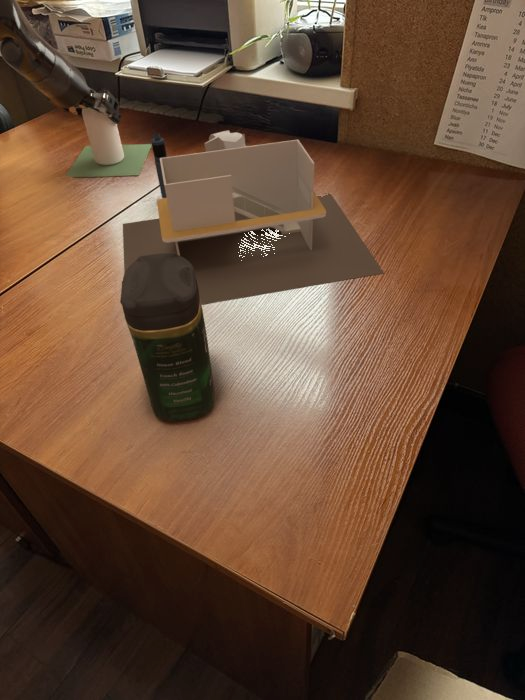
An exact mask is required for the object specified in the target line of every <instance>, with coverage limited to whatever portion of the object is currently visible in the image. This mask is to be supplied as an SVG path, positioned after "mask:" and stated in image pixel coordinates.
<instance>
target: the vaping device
mask: <svg viewBox="0 0 525 700" xmlns="http://www.w3.org/2000/svg"><path fill="white" fill-rule="evenodd" d="M150 142H151V143H150V144H152V147H151V149H152V153H153V158H154V164H155V169H156V174H157V180H158V185H159V189H160V195H161V198H167V197H166V192H165V187H164V181H163V175H162V169H161V163H160V158H164V157H172V156H173V155H171V156H170V155H169V156H168V154H167V150H166V143H165V139H164V137H161V135H160V133H154V134H153V138H152V139H151V140H150Z"/></svg>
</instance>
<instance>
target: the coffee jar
mask: <svg viewBox="0 0 525 700" xmlns="http://www.w3.org/2000/svg"><path fill="white" fill-rule="evenodd" d="M120 290H121V291H120V299H119V300H120V302H119V303H120V304H121V307H122V311H123V315H124V320H125V322H126V326H127V328H128V331H129V333H130V337H131V339H132V343H133V346H134V349H135V353H136V356H137V360H138V363H139V366H140V370H141V373H142V376H143V380H144V384H145V387H146V391H147V395H148V398H149V402H150V406H151V409H152V412H153V414H154V416H155V417H157V418H158V419H160V420H161V421H164V422H169V423H177V422H178V423H179V422H180V423H181V422H188V421H193V420H195V419H199V418H201V417H203V416H205V415H207V414H208V413H209V412H210V411H211V409H212V408H213V406H214V401H215V384H214V376H213V369H212V363H211V357H210V348H209V341H208V335H207V329H206V323H205V317H204V316H205V315H204V311H203V306H202V305H203V304H201V300H200V294H199V289H198V284H197V280H196V276H195V271H194V268H193V266H192V264H191V263H190V262H189V261H188V260H186V259H185V258H183V257H181V256H179V255H177V254H176V253H161V254H152V255H145V256H140V257H138V259H137V260H136V261H134V262H133V263H132V264H131V265H130V266H129V267H128V269H127V270H126V272H124V274H123V278H122V281H121V289H120Z"/></svg>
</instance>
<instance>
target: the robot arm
mask: <svg viewBox="0 0 525 700" xmlns="http://www.w3.org/2000/svg"><path fill="white" fill-rule="evenodd" d="M0 55H1V57H2V59H3V60H4V61H5V62H6V64H8V65H9V66H10V67H11V68H12V69H13V70H15V71H16V72H17V73H18V74H20V76H22V77H24V78H25V79H26V80H27V81H28V82H29V83H30V84H31V85H32V86H33V87H34V88H35V89H37V90H38V91H39V92H41V93H42V94H43V96H45V101H47V102H49V103H50V104H52V105H53V106H55V107H56V108H57V109H59V110H60V111H62V112H63V113H65V114H68V113H70V112H71V114H72V115H74V116H79V117H80V118H81V119H82V120H83V116H82V109H88V110H90V111H92V112H94V113H96V114H100V113H101V114H103V115H105V116H107V117H108V118H109V119H110V120H111V121H113V122H114V123H115V124H117V125H120V123H121V121H122V120H121V119H122V114H121V113H120V112H119V110H120V102H119V101H118V100H117V99H116V97H115V96H114V95H113V94H112V93H111V92H110V91H109V90H108V89H105V88H103V89H102V91H101V92H96V90H95V89H93V88H91V87H89V86H88V84H87V80H86V78H85V76H84V75H83V73H82V72H81V71H80V70H79V69H78V68H77V67H76V66H74V64H73V63H71V61H70V60H68V59H67V58H66V57H65V56H64V55H63V54H62V53H61V52H60V51H59V50H58V49H56V48H54V47H53V46H51V45H50V44H49V43H48V42H47V41H46V40H45V39H44V38H43V37H42V36H40V34H38V32H37V31H36V30H35V29H34V27H33V26H32V24H31V23H30V21H29V20H28V18H27V17H26V15H25V14H24V12H23V10H22V8H21V6H20V4H19V3H18V1H17V0H0ZM96 100H97V107H96V108H95V107H94V106H95V101H96ZM103 106H104V107H105V108H106V111H105V110H104V109H103Z"/></svg>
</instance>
